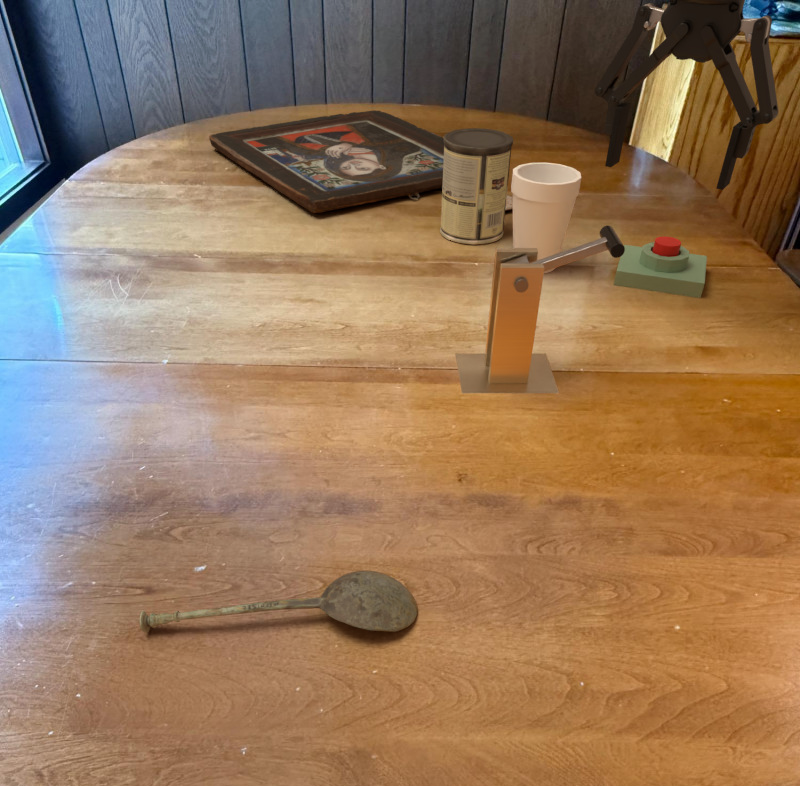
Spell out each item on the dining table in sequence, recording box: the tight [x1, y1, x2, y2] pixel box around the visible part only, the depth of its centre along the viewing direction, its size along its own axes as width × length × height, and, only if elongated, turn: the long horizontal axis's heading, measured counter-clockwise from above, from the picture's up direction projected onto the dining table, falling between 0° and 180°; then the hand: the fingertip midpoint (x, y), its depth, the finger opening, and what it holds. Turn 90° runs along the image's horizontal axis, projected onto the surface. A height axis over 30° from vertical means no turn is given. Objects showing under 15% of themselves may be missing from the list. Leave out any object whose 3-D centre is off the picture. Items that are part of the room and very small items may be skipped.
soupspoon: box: [138, 570, 419, 634], centre depth 62 cm, size 22×3×7 cm
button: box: [652, 236, 682, 257], centre depth 110 cm, size 4×4×2 cm
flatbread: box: [505, 195, 513, 212], centre depth 133 cm, size 8×8×1 cm
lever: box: [503, 225, 625, 272], centre depth 81 cm, size 12×5×2 cm, turn 92°
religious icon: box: [208, 110, 444, 214], centre depth 148 cm, size 40×45×3 cm
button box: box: [613, 241, 708, 299], centre depth 111 cm, size 12×10×4 cm
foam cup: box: [510, 161, 582, 274], centre depth 111 cm, size 10×9×13 cm
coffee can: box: [439, 127, 514, 245], centre depth 119 cm, size 10×10×14 cm
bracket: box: [454, 247, 560, 395], centre depth 85 cm, size 11×9×15 cm
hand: (665, 175), depth 92 cm, fingers open, 13 cm apart
